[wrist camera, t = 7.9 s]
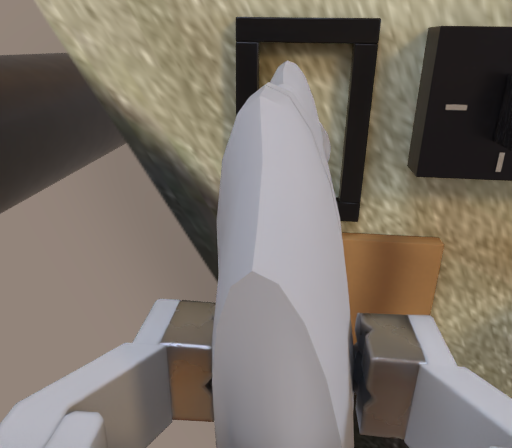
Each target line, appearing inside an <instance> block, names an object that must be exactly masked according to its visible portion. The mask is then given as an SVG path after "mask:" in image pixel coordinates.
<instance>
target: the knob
mask: <svg viewBox="0 0 512 448" xmlns="http://www.w3.org/2000/svg"><path fill="white" fill-rule="evenodd" d="M493 142H495V143H497V144H499V145H501V146H502V147H504V148H506V149H508V150H510V151H512V73H509V74H508V77H507V81H506V86H505V90H504V94H503V99H502V103H501V108H500V112H499V116H498V121H497V125H496V130H495V134H494V138H493Z"/></svg>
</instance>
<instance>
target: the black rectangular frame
mask: <svg viewBox="0 0 512 448" xmlns="http://www.w3.org/2000/svg"><path fill="white" fill-rule="evenodd" d="M380 23H381V19H380V18H286V17H236V116H237V114H238V112H239V111H240V109H241V108H242V107H243V105H244V104H245V102H246V101H247V99H248V98H249V97H250V96H251V95H252V94H254V93H255V92H256V91H258V90H259V42H285V43H354V44H353V52H352V63H351V74H350V84H349V95H348V106H347V117H346V127H345V138H344V149H343V159H342V170H341V181H340V192H339V198H336V202H337V207H338V211H339V216H340V221H352V222H358V217H359V208H360V199H361V190H362V181H363V172H364V164H365V155H366V146H367V137H368V128H369V120H370V111H371V102H372V93H373V85H374V76H375V67H376V58H377V49H378V41H379V32H380Z"/></svg>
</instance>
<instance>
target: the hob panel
mask: <svg viewBox="0 0 512 448" xmlns="http://www.w3.org/2000/svg"><path fill="white" fill-rule="evenodd" d="M509 73H512V27H482V26H438V27H430V28H428V35H427V41H426V48H425V54H424V61H423V67H422V74H421V80H420V87H419V93H418V100H417V106H416V113H415V119H414V126H413V132H412V139H411V145H410V152H409V159H408V165H407V166H408V167H409V168H410V170H411V171H412V172H413V173H414V174H415V176H416V177H436V178H460V179H484V180H508V181H512V151H510V150H508V149H506V148H504V147H502V146H501V145H499V144H497V143H495V142H493V138H494V134H495V130H496V125H497V121H498V116H499V112H500V108H501V103H502V99H503V94H504V90H505V86H506V81H507V77H508V74H509Z"/></svg>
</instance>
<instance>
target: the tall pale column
mask: <svg viewBox="0 0 512 448" xmlns="http://www.w3.org/2000/svg"><path fill="white" fill-rule="evenodd" d="M330 149H331V146H330V142H329V137H328V134H327V132H326V130H325V129H324V127H323V125H322V124H321V123H320V122H319V118H318V114H317V110H316V106H315V102H314V99H313V96H312V93H311V90H310V88H309V85H308V82H307V79H306V77H305V75H304V74H303V72H302V71H301V70H300V68H299V67H298V66H297V64H295V63H293V62H290V61H286V62H284V63H283V64H281V65H280V66H279V67H278V69H277V70H276V72H275V74H274V76H273V77H272V80H271V82H270V83H269V82H268V83H266V84H265V85H264V86H263V87H261V88H260V89H259V90H258V91H256V92H255V93H254V94H252V95H251V96H250V97H249V98H248V99H247V101H246V102H245V104H244V105H243V107H242V108H241V109H240V111H239V112H238V114H237V116H236V120H235V123H234V126H233V129H232V132H231V135H230V138H229V141H228V144H227V147H226V150H225V153H224V156H223V159H222V170H221V180H220V191H219V202H218V213H217V243H218V269H219V277H218V286H217V296H216V305H215V315H214V325H213V334H212V391H213V406H214V421H215V437H216V447H217V448H354V430H353V407H354V391H353V371H354V347H353V336H352V326H351V315H350V304H349V294H348V283H347V275H346V266H345V258H344V248H343V240H342V232H341V222H340V216H339V211H338V207H337V202H336V197H335V193H334V188H333V184H332V179H331V175H330V170H329V166H328V160H329V158H330Z"/></svg>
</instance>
